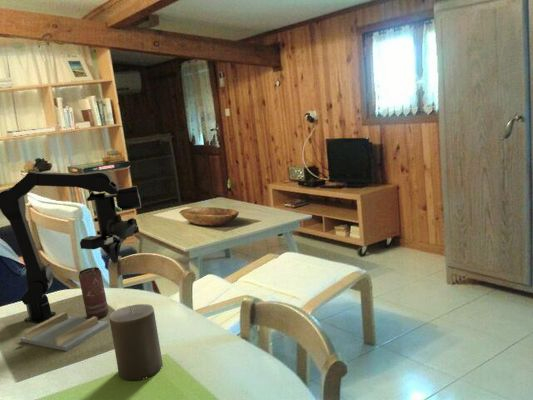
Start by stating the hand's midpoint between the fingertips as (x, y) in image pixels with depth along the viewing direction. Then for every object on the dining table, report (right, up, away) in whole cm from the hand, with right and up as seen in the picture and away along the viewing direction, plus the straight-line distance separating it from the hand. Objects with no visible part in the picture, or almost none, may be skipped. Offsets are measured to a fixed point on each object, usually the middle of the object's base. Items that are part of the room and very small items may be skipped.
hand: (115, 262), depth 152 cm
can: (-3, -15, -6) cm, 16 cm away
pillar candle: (+18, -19, -40) cm, 48 cm away
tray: (-9, -17, -16) cm, 25 cm away
